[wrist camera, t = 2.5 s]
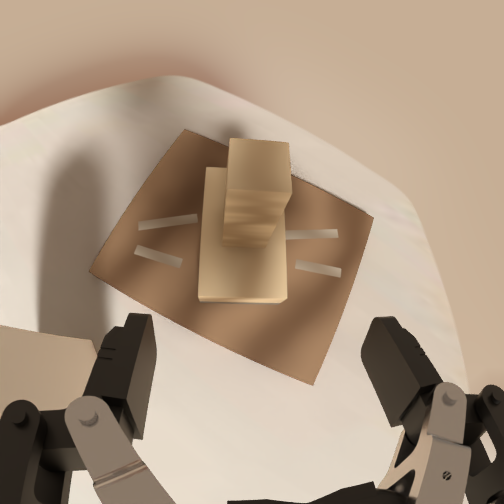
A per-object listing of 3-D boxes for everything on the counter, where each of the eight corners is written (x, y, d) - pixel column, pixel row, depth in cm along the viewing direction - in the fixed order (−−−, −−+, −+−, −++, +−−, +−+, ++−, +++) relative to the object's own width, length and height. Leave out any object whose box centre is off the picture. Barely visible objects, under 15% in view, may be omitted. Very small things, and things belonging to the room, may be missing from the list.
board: (93, 275, 23) (88, 271, 22) (185, 136, 29) (184, 129, 28) (308, 383, 23) (312, 385, 22) (368, 222, 28) (373, 217, 27)
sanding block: (200, 302, 23) (187, 262, 12) (206, 186, 26) (206, 91, 15) (278, 304, 23) (329, 267, 13) (275, 189, 26) (309, 101, 16)
